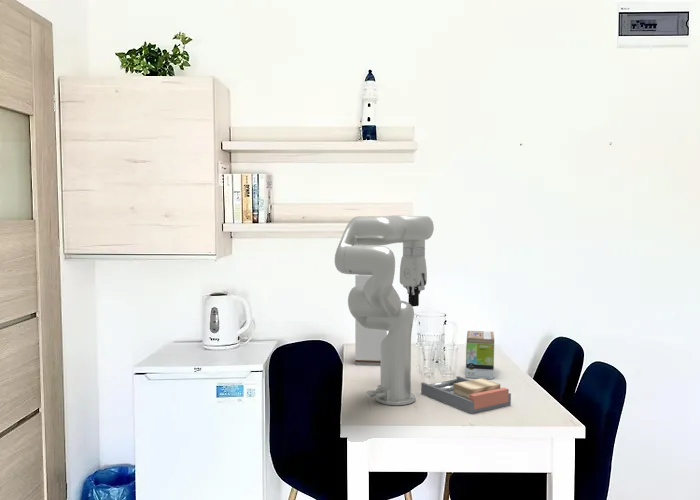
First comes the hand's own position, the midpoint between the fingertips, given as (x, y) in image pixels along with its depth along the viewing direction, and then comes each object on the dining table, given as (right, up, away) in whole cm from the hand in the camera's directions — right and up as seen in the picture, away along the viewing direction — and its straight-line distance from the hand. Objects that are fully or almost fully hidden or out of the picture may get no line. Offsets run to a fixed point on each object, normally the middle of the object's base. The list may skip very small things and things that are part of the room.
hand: (413, 305), depth 213 cm
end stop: (+20, -28, -26) cm, 43 cm away
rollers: (+14, -27, -16) cm, 34 cm away
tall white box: (-13, -25, +32) cm, 43 cm away
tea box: (+26, -27, +15) cm, 40 cm away
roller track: (+14, -28, -16) cm, 36 cm away
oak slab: (+17, -25, -21) cm, 37 cm away
